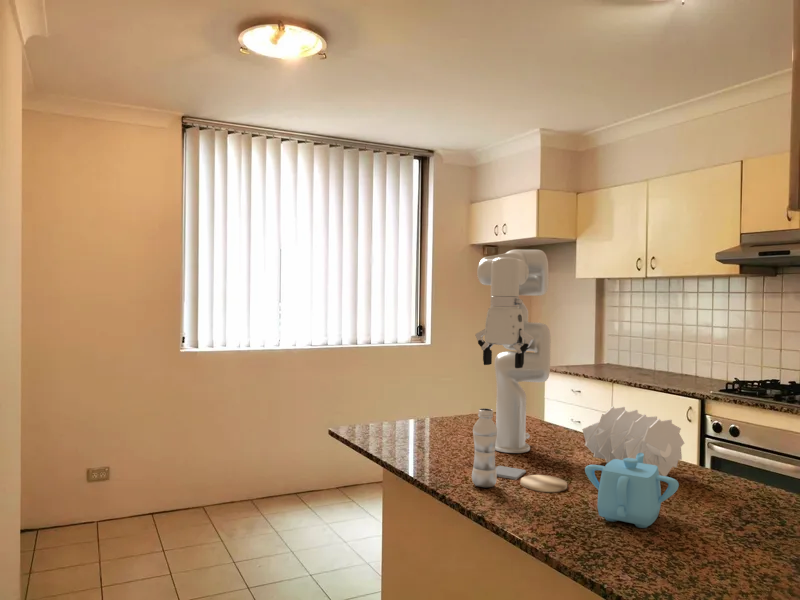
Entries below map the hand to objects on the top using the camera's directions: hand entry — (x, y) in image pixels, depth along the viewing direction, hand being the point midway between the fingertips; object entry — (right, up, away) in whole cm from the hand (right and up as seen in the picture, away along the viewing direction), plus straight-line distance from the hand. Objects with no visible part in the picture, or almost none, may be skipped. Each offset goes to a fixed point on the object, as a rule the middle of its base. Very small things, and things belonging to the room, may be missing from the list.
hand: (502, 366), depth 164 cm
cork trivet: (+10, -31, -4) cm, 33 cm away
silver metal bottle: (-6, -31, -7) cm, 32 cm away
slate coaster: (+2, -31, +5) cm, 31 cm away
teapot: (+25, -32, -26) cm, 48 cm away
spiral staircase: (+39, -32, +11) cm, 51 cm away
